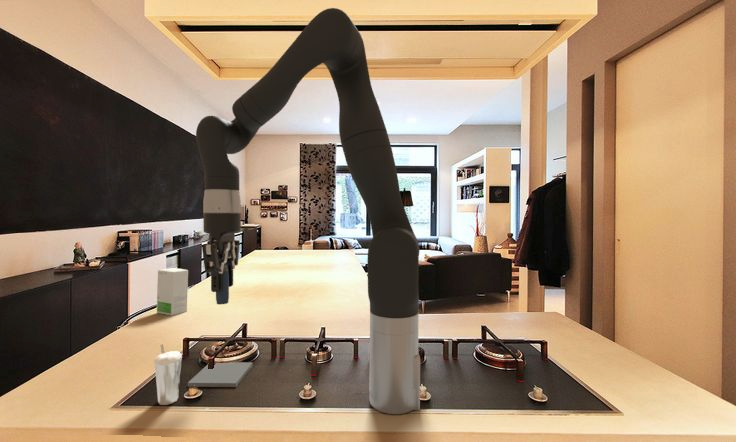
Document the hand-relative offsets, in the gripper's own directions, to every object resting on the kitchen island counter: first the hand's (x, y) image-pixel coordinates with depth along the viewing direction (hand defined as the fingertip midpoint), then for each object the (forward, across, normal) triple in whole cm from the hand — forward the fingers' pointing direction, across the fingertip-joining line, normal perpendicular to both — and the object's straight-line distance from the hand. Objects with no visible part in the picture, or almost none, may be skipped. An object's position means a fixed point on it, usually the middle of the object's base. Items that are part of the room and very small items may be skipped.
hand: (222, 288), depth 76 cm
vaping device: (+3, 0, 0) cm, 3 cm away
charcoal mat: (+19, 0, 0) cm, 19 cm away
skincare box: (+19, +49, +39) cm, 66 cm away
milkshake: (+19, -10, +6) cm, 23 cm away
